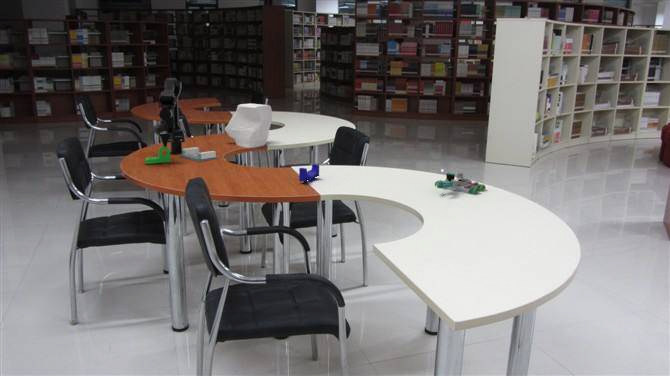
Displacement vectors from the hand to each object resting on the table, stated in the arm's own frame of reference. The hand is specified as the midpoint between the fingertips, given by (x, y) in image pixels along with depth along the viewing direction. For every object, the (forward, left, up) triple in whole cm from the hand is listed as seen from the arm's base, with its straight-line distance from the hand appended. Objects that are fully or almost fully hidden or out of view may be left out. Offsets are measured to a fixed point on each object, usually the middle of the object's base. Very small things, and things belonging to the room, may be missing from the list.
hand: (169, 148), depth 284 cm
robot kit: (+138, +53, -7) cm, 148 cm away
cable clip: (+77, +25, -7) cm, 81 cm away
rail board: (+2, +16, -7) cm, 17 cm away
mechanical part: (-3, -5, -7) cm, 10 cm away
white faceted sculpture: (-8, +60, -7) cm, 61 cm away
